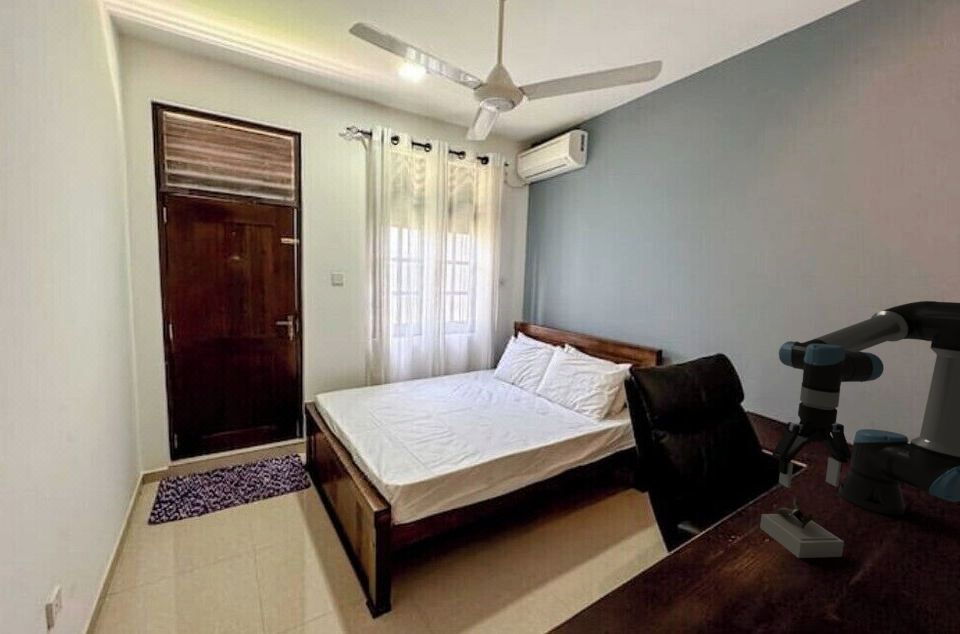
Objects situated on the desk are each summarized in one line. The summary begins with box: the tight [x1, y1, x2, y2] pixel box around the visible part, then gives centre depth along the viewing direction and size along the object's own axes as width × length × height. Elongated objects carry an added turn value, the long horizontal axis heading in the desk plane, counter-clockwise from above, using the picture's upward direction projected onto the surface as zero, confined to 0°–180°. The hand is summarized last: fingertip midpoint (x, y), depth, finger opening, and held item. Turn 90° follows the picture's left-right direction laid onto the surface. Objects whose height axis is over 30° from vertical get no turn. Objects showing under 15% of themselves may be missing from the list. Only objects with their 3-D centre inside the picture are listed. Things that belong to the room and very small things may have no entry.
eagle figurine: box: [775, 492, 822, 529], centre depth 109 cm, size 8×7×9 cm
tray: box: [759, 513, 845, 559], centre depth 107 cm, size 12×12×4 cm
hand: (808, 484), depth 105 cm, fingers open, 13 cm apart
